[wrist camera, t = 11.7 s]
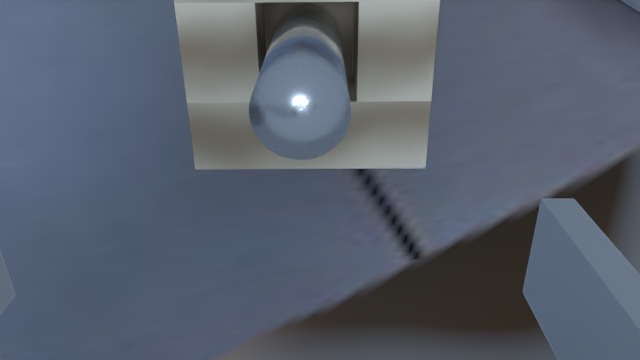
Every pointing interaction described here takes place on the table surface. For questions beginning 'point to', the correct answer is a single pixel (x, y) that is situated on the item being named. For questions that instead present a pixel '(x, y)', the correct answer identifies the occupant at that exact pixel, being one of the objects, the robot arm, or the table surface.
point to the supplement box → (633, 4)
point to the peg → (302, 86)
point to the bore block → (361, 72)
